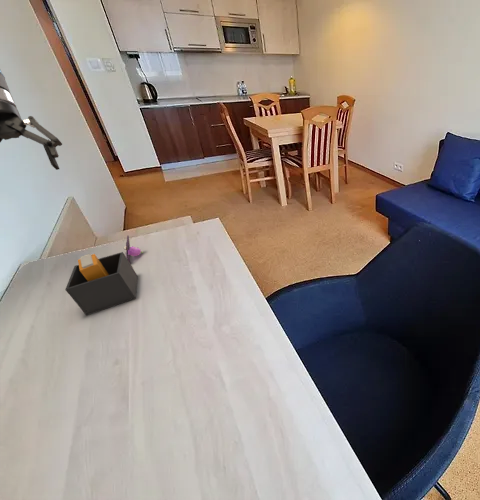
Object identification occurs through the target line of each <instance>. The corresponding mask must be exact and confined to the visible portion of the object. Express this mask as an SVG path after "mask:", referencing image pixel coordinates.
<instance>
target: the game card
mask: <svg viewBox="0 0 480 500" xmlns="http://www.w3.org/2000/svg"><path fill="white" fill-rule="evenodd" d="M123 251H126V252H124V255H125V256H126V258H127V260H128V261H129V262H130V259H131V256H132V257H138V256H139V255H140V254H143V253H144V251H141V249H140V248H139V247H136V246H133V245H132V246H131V245H130V236H129V235H127V236H126V242H125V246H123Z"/></svg>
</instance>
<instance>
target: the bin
mask: <svg viewBox="0 0 480 500" xmlns="http://www.w3.org/2000/svg"><path fill="white" fill-rule="evenodd" d="M98 259H99V261H100V262H101V264H102V265H103V267H104V268H105V269H106V271H107V272H108V274H109V275H108V276H104V277H101V278H98V279H95V280H92V281H87V280H86V278H85V277H84V276H83V274H82V273H81V272H80V269H79V264H76V265H74V266H73V269H72V272H71V274H70V276H69V279H68V281H67V284H66V287H65V291H66V293H67V294H68V295H69V297H70V298H71V299H72V300H73V301H74V302H75V303H76V305H77V306H78V307H79V308H80V310H81V311H82V312H83V313H84V314H85V316H89V315H91V314H94V313H97V312H100V311H103V310H107V309H109V308H112V307H115V306H118V305H121V304H123V303H124V304H125V303H127V302H129V301H133V300H135V299H137V289H138V274H137V272H136V270H135V269H134V268H133V266H132V265H131V263H130V261H128V260H127V258H126V255H125V252H123V251H121V252H117V253H114V254H111V255H106V256H104V257H100V258H98Z"/></svg>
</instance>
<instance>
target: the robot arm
mask: <svg viewBox="0 0 480 500" xmlns="http://www.w3.org/2000/svg"><path fill="white" fill-rule="evenodd" d="M27 126H29V127H31V128H33V129H34V128H35V129H36V130H37V131H38V132H39V133H41V134H42V135H43V136H44V137H42V136H40V135H39V134H36V133H35V132H32V131H29V130H27V129H26V128H27ZM20 137H24V138H26V139H29V140H31V141H34V142H36V143H38V144H40V145H42V146H43V148H44V151H45V153H46V156H47V158H48V161H49V163H50V165H51V167H53V168H54V169H55V170H60V167H59V164H58V161H57V160H56V159H57V158H59V156H60V155H59V153H58V150H57V147H61V146H62V145H63V142H62V141H61V140H60V139H59V138H58V137H56V136H55V135H54V134H53V133H52V132H50V131H49V130H47V129H46V128H45V127H43V126H42V125H41V124H40V123H39V122H38V121H37V120H36V118H35V117H34V116H32V115H29V116H28V117H27V119H26V118H25V119H22V116H21V114H20V111H19V110H18V108H17V105H16V102H15V100H14V98H13V96H12V94H11V90H10V88H9V86H8V83H7V81H6V77H5V75H4V73H3V72H2V70H1V69H0V143H2V141H3V140H5V141H7V140H11V139H17V138H18V139H19V138H20ZM45 137H46V138H47V139H46V138H45Z"/></svg>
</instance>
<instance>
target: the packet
mask: <svg viewBox="0 0 480 500" xmlns="http://www.w3.org/2000/svg"><path fill="white" fill-rule="evenodd" d="M99 259H100V258H98V257H97V255H96V254H95V253H93V254H91V253H88V254H85V255H82V256H79V259H77V263H78V264H77V265H79V269H80V272H81V273H82V274H83V276H84V277H85V278H86V280H87V281H92V280H95V279H98V278H101V277H104V276H108V275H109V274H108V272H107V271H106V269H105V268H104V267H103V265H102V264H101V262H100V261H99Z"/></svg>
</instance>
